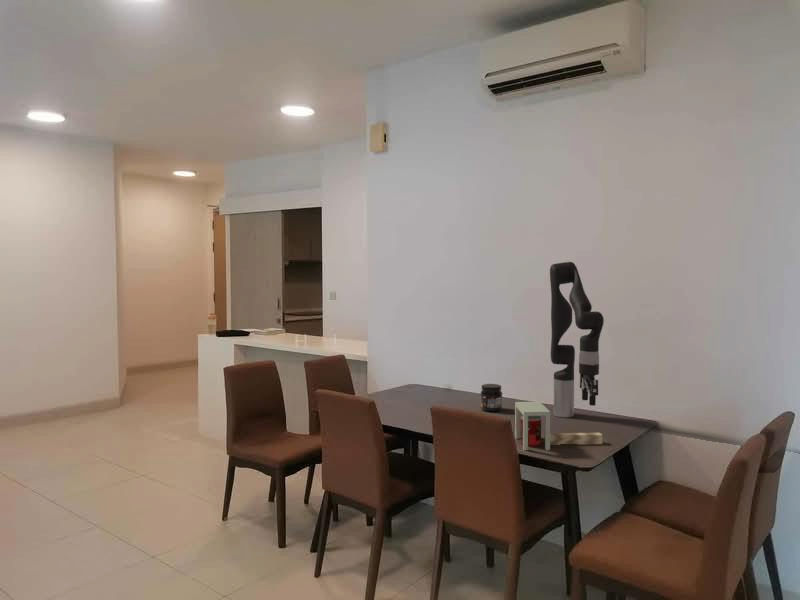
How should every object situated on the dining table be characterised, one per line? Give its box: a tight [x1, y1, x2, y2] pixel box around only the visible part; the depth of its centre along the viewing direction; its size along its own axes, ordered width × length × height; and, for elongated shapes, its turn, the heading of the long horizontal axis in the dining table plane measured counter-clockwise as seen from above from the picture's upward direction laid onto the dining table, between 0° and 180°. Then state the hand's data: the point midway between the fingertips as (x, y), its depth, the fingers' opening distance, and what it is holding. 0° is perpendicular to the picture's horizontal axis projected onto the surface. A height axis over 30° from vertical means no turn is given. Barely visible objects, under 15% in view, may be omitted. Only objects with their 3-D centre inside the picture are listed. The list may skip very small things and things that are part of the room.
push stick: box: [550, 432, 603, 446], centre depth 230 cm, size 22×3×4 cm, turn 91°
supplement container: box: [480, 383, 503, 413], centre depth 283 cm, size 10×10×12 cm
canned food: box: [520, 415, 542, 448], centre depth 229 cm, size 8×8×11 cm
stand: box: [514, 401, 551, 452], centre depth 229 cm, size 16×10×15 cm, turn 1°
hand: (588, 402), depth 229 cm, fingers open, 8 cm apart
